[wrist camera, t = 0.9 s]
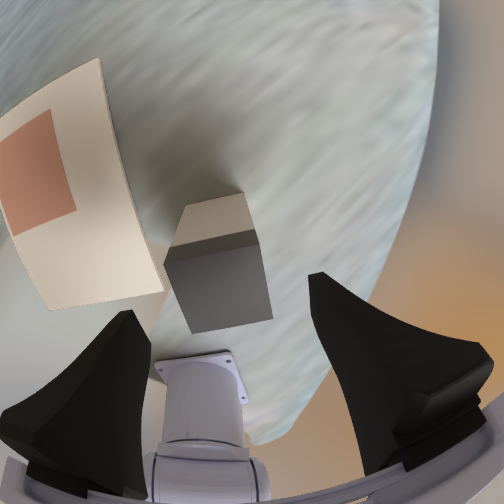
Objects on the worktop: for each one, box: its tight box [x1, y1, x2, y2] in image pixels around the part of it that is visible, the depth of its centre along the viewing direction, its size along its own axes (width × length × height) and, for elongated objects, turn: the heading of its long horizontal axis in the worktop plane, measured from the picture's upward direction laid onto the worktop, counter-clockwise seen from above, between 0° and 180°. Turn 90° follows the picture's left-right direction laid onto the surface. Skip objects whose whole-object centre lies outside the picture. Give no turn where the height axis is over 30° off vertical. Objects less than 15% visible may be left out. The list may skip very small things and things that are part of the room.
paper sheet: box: [0, 57, 165, 311], centre depth 16 cm, size 18×13×1 cm
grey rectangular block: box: [163, 193, 273, 334], centre depth 15 cm, size 4×4×8 cm
